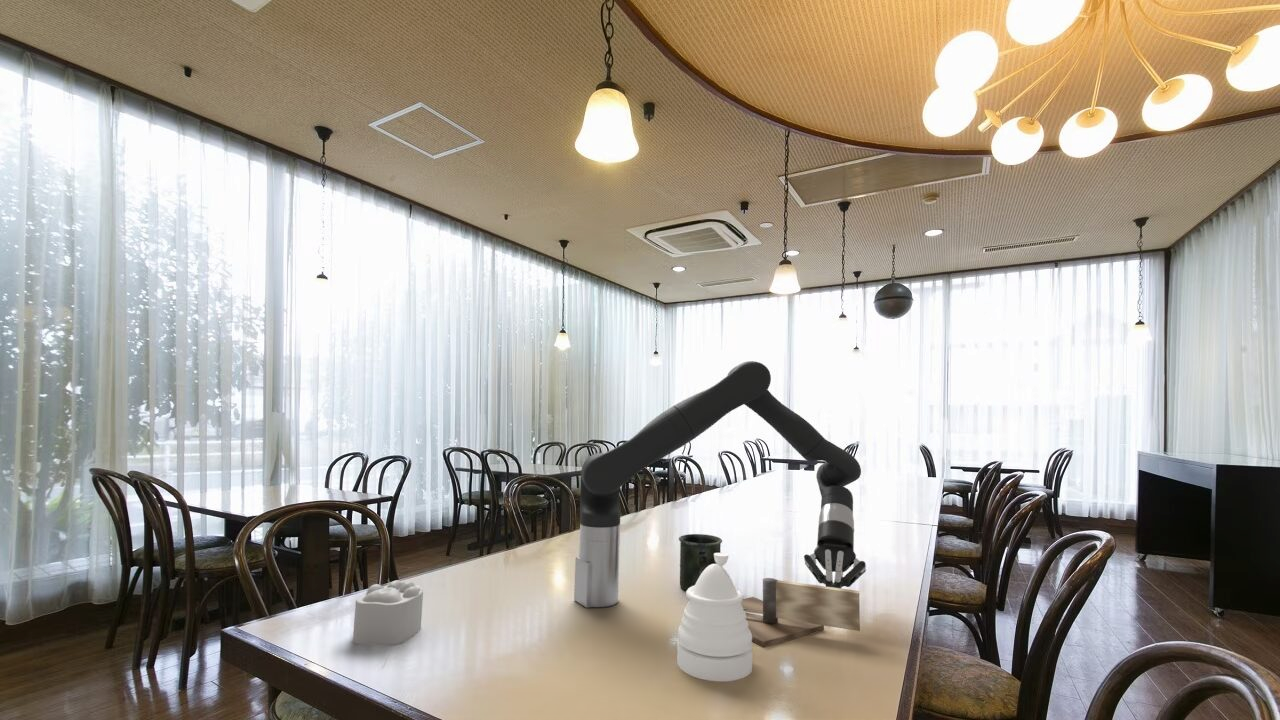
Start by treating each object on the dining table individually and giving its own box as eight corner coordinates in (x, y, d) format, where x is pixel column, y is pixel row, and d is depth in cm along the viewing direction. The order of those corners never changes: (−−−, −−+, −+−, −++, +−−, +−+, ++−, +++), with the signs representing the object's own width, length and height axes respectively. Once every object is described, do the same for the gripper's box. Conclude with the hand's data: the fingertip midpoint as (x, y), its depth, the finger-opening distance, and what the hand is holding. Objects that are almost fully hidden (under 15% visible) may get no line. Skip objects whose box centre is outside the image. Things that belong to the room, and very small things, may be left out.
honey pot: (702, 642, 105) (703, 544, 106) (765, 662, 96) (765, 556, 98) (662, 665, 95) (664, 556, 96) (728, 689, 87) (728, 570, 88)
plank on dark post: (715, 614, 116) (716, 574, 117) (719, 609, 119) (719, 571, 119) (859, 638, 105) (859, 594, 106) (860, 632, 108) (859, 589, 108)
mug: (718, 582, 143) (719, 534, 144) (726, 600, 129) (727, 547, 130) (676, 580, 143) (677, 533, 145) (680, 599, 129) (681, 546, 130)
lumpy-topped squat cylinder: (344, 643, 100) (347, 594, 101) (384, 618, 113) (387, 574, 114) (398, 647, 99) (401, 597, 100) (433, 621, 112) (435, 577, 113)
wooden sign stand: (763, 647, 103) (763, 640, 103) (695, 613, 119) (696, 608, 120) (823, 630, 112) (823, 624, 112) (753, 601, 129) (753, 596, 129)
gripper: (803, 516, 124) (797, 587, 112) (867, 521, 119) (867, 597, 107) (806, 536, 129) (800, 606, 116) (868, 542, 124) (868, 617, 111)
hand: (832, 602), depth 112 cm, fingers closed
